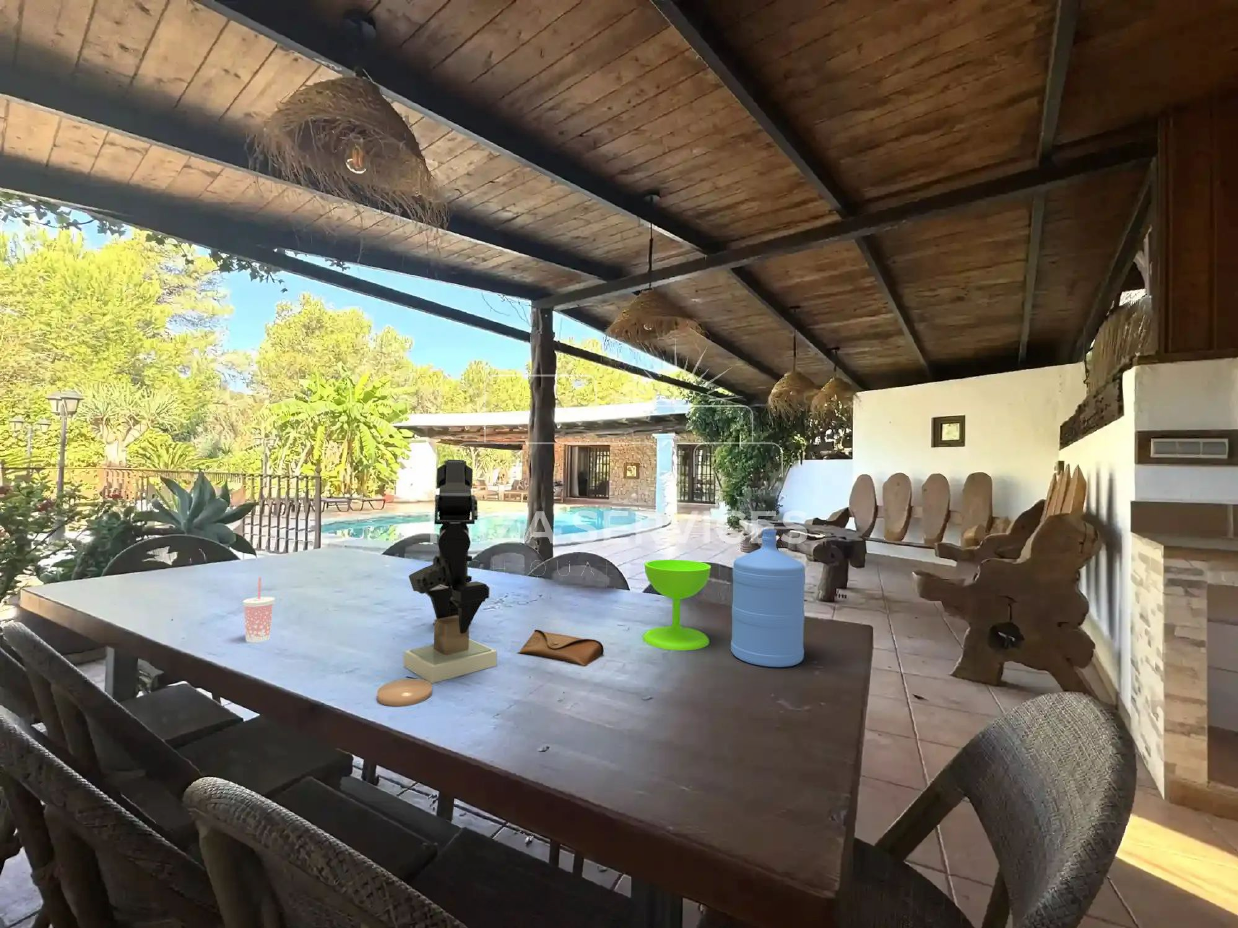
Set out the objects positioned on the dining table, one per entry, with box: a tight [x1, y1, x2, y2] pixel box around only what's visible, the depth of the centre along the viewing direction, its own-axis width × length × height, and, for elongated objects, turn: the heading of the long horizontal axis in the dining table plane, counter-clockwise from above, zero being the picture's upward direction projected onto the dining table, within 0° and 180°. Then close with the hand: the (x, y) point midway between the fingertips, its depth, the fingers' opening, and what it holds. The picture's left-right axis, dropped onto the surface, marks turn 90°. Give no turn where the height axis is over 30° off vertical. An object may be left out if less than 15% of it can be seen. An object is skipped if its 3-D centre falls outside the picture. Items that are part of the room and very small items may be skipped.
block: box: [433, 615, 470, 655], centre depth 112 cm, size 5×5×6 cm
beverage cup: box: [242, 577, 276, 643], centre depth 126 cm, size 6×6×14 cm
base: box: [403, 638, 498, 684], centre depth 112 cm, size 12×14×3 cm
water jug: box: [730, 529, 806, 668], centre depth 123 cm, size 16×16×28 cm
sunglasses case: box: [516, 629, 605, 667], centre depth 121 cm, size 18×7×7 cm
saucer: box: [376, 678, 433, 707], centre depth 97 cm, size 9×9×1 cm
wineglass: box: [642, 559, 712, 651], centre depth 133 cm, size 16×16×18 cm
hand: (451, 628), depth 112 cm, fingers open, 9 cm apart
